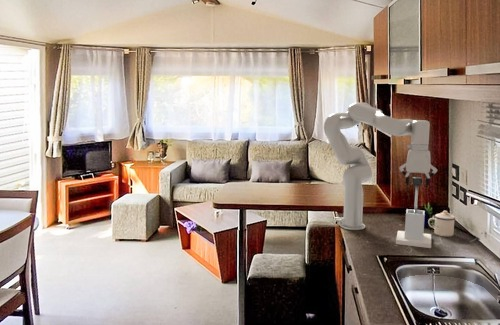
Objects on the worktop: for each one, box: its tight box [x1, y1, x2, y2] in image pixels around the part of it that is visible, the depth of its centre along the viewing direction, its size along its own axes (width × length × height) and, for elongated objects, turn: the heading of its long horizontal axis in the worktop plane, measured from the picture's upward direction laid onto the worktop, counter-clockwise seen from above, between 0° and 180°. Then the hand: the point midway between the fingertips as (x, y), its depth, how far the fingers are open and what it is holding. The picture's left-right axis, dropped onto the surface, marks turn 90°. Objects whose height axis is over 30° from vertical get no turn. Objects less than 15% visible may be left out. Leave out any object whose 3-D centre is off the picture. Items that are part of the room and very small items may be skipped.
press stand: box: [395, 208, 432, 249], centre depth 206 cm, size 15×15×14 cm
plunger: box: [409, 176, 424, 214], centre depth 204 cm, size 6×6×18 cm
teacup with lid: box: [427, 210, 456, 238], centre depth 218 cm, size 12×9×12 cm
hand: (417, 185), depth 204 cm, fingers open, 7 cm apart
